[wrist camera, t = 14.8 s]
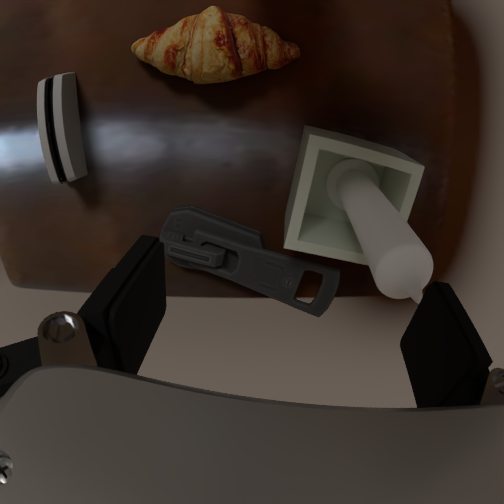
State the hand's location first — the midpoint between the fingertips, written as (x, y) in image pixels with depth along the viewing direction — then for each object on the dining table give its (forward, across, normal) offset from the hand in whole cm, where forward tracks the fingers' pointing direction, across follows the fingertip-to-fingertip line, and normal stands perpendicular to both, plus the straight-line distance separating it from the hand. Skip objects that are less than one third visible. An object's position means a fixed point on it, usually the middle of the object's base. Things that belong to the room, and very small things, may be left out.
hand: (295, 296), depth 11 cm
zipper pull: (+32, +3, +17) cm, 36 cm away
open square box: (+32, -7, +4) cm, 33 cm away
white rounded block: (+33, +32, 0) cm, 46 cm away
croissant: (+33, +11, -11) cm, 36 cm away
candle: (+31, -9, +4) cm, 33 cm away
